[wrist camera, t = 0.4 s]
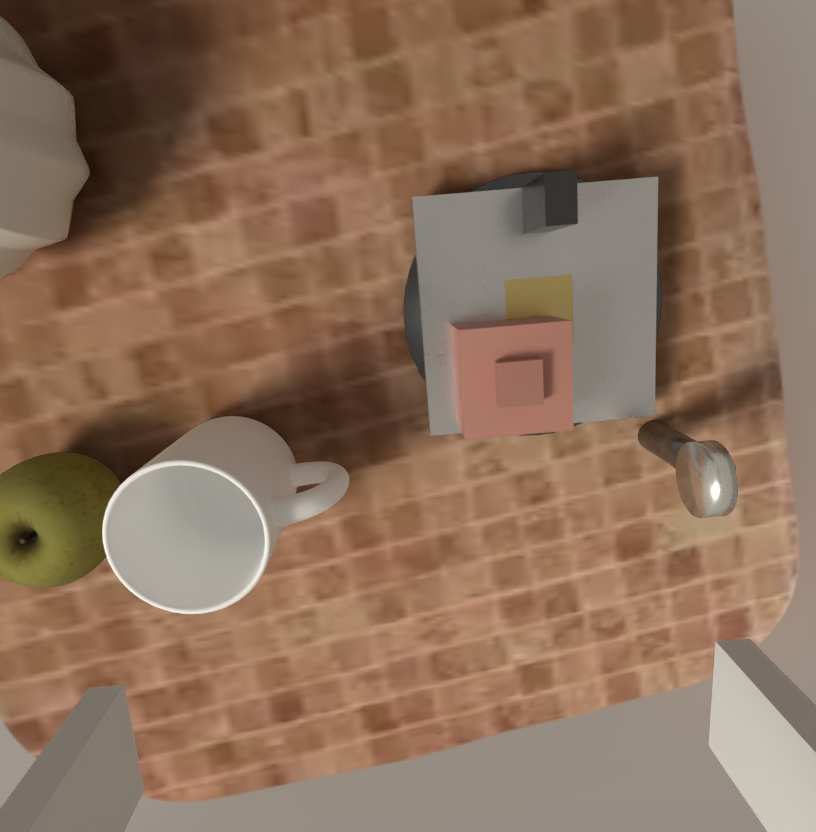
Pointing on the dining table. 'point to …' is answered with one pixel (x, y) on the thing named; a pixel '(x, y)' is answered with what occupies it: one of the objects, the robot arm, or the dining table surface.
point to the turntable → (545, 282)
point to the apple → (53, 518)
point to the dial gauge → (695, 469)
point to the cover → (513, 376)
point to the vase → (34, 155)
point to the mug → (211, 514)
